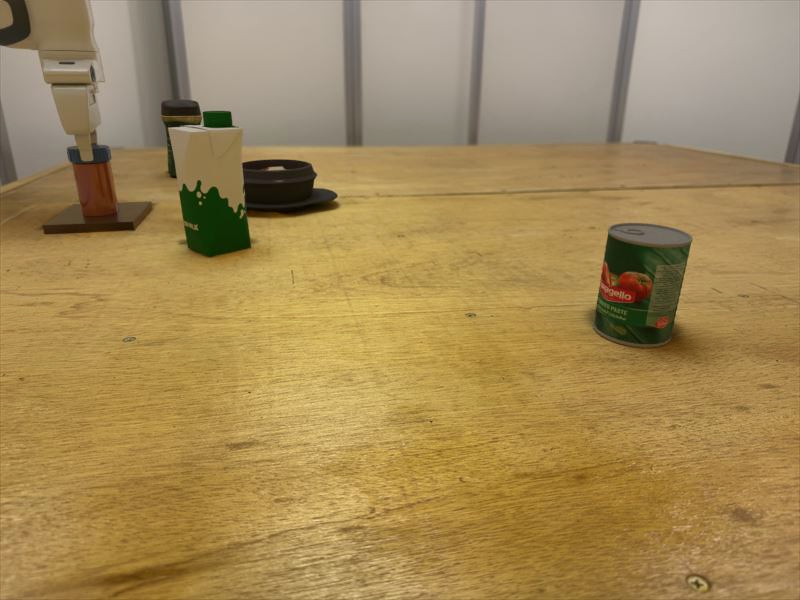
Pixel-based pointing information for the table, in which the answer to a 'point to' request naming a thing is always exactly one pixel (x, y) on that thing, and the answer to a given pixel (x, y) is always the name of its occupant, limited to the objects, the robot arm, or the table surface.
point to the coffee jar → (178, 121)
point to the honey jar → (96, 188)
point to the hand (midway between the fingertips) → (91, 157)
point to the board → (98, 219)
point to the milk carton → (211, 184)
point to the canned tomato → (641, 283)
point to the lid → (99, 153)
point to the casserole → (281, 185)
